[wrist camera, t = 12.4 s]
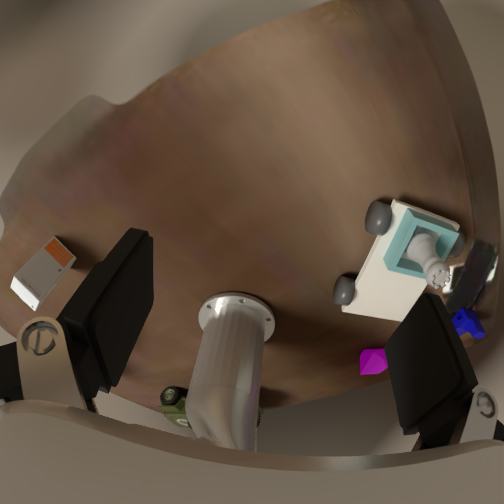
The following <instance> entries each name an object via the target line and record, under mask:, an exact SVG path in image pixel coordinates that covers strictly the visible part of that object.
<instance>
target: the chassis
mask: <svg viewBox="0 0 504 504" xmlns="http://www.w3.org/2000/svg"><path fill="white" fill-rule="evenodd" d="M459 227H460V226H459V224H458V223H457V222H454V221H452V220H449V219H447V218H444V217H442V216H439V215H436V214H434V213H431V212H429V211H426V210H423V209H421V208H418V207H415V206H412V205H410V204H407V203H404V202H401V201H398V200H395V199H393V201H392V204H391V206H390V205H388V204H385V203H382V202H379V201H373V202H372V203H371V204H370V206H369V208H368V211H367V214H366V218H365V228H366V231H367V232H369V233H373V234H376V235H377V238H376V240H375V242H374V244H373V246H372V248H371V250H370V252H369V255H368V257H367V259H366V261H365V263H364V265H363V267H362V269H361V271H360V273H359V275H358V277H357V279H356V281H355V280H354V279H352V278H348V277H343V276H340V277H339V278H338V279H337V281H336V283H335V286H334V290H333V302H334V303H335V304H339V305H342V312H348V313H353V314H359V315H365V316H371V317H377V318H383V319H389V320H396V321H403V319H404V318H405V317H406V315H407V314H408V312H409V311H410V309H411V308H412V307H413V305H414V304H415V302H416V301H417V299H418V298H419V297H420V296H422V295H423V294H422V292H423V290H424V289H425V287H426V285H427V282H426V275H424V273H423V268H422V267H421V265H420V264H419V263H417V262H414V261H412V260H411V259H409V257H408V256H407V255H406V253H405V251H404V250H405V248H406V247H407V245H408V243H409V241H410V239H411V237H412V235H413V233H414V231H415V229H419V228H424V229H427V230H429V231H430V232H431V234H432V235H433V237H434V239H435V242H436V253H437V255H438V257H440V258H441V259H442V260H443V263H444V261H445V260H446V258H447V256H450V257H453V258H455V257H458V256H459V255H460V254H461V252H462V250H463V248H464V244H465V238H464V234H463V233H462V232H461V231H460V230H458V229H459Z"/></svg>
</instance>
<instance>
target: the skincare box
mask: <svg viewBox="0 0 504 504" xmlns="http://www.w3.org/2000/svg"><path fill="white" fill-rule="evenodd" d="M75 260H76V257H75V256H74V255H73V254H72V253H71V252H70V251H69V250H68V249H67V248H66V247H65V246H64V245H63V244H62V243H61V242H60V241H59V240H58V239H57V238H56V237H55V236H54V237H52V238H51V239H50V240H49V241H48V242H47V243H46V244H45V245H44V246H43V247H42V248H41V249H40V250H39V251H38V252H37V253H36V254H35V255H34V256H33V257H32V258H31V259H30V260H29V261H28V262H27V263H26V264H25V265H24V266H23V267H22V268H21V269H20V270H19V271H18V272H17V273H16V274H15V275H14V278H13V281H12V284H11V288H12V289H13V290H14V291H15V292H16V293H17V294H18V296H19V297H20V298H21V299H22V300H23V301H24V302H25V303H27V304H28V305H29V306H30V307H31V308H32V309H33V310H34V311H36V310H37V309H38V308H39V306H40V305H41V304H42V302H43V301H44V300H45V298H46V297H47V296H48V295H49V293H50V292H51V291H52V290H53V288H54V287H55V286H56V285H57V283H58V282H59V281H60V280H61V279H62V277H63V276H64V275H65V274H66V273H67V272H68V270H69V269H70V267H71V266H72V264H73V263H74V261H75Z"/></svg>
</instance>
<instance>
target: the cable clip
mask: <svg viewBox="0 0 504 504" xmlns="http://www.w3.org/2000/svg"><path fill="white" fill-rule="evenodd" d="M452 322H453V324H454V326H455V328H456V330H457V332H458V335H459V336H461V335H462V334H463V333H465V332H470V333H471V335H472V336H473V337H475V338H479V339H481V338H482V337H483V336H484V335H485V334H486V333H485V331H484V329H483V327H482V325H481V323H480V321H479V319H478V317H477V315H476V314H475V312H473V311H470V310H468V309H465V308H461V310H460V311H459V312H458V313H457V314H456V315H455V317H454V318H453V319H452Z"/></svg>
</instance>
